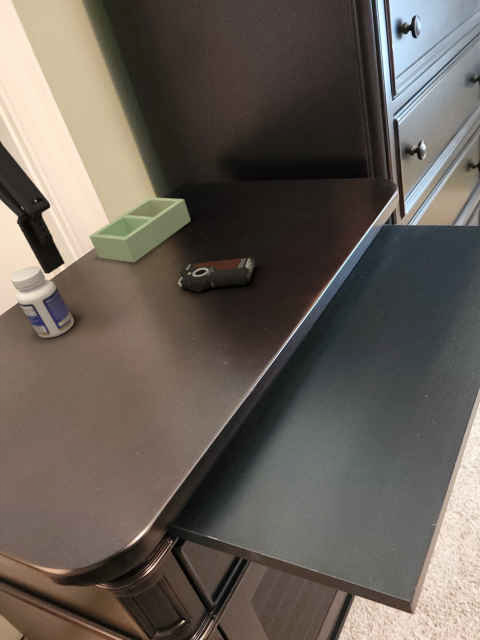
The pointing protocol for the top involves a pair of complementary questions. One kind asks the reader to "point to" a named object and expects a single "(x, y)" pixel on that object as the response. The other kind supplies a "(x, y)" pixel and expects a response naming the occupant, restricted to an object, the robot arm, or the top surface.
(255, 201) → the top surface
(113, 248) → the divided box
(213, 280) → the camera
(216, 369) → the top surface
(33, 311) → the pill bottle
